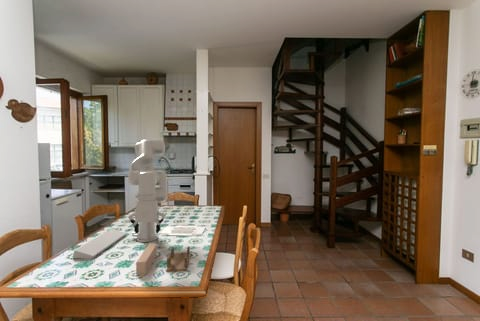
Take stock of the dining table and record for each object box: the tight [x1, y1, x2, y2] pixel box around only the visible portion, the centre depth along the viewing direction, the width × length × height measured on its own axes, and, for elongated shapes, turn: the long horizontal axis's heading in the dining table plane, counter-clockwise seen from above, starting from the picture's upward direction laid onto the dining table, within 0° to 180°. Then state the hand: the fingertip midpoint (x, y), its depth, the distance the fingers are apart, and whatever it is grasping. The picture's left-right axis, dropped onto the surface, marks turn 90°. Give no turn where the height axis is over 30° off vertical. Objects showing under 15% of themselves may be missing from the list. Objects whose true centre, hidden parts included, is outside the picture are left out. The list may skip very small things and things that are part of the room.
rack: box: [165, 246, 191, 272], centre depth 124 cm, size 9×18×5 cm, turn 6°
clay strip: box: [135, 242, 158, 276], centre depth 122 cm, size 4×22×6 cm, turn 5°
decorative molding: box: [72, 228, 127, 260], centre depth 144 cm, size 34×5×10 cm
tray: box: [159, 222, 206, 237], centre depth 171 cm, size 20×28×4 cm
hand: (147, 232), depth 121 cm, fingers open, 9 cm apart
